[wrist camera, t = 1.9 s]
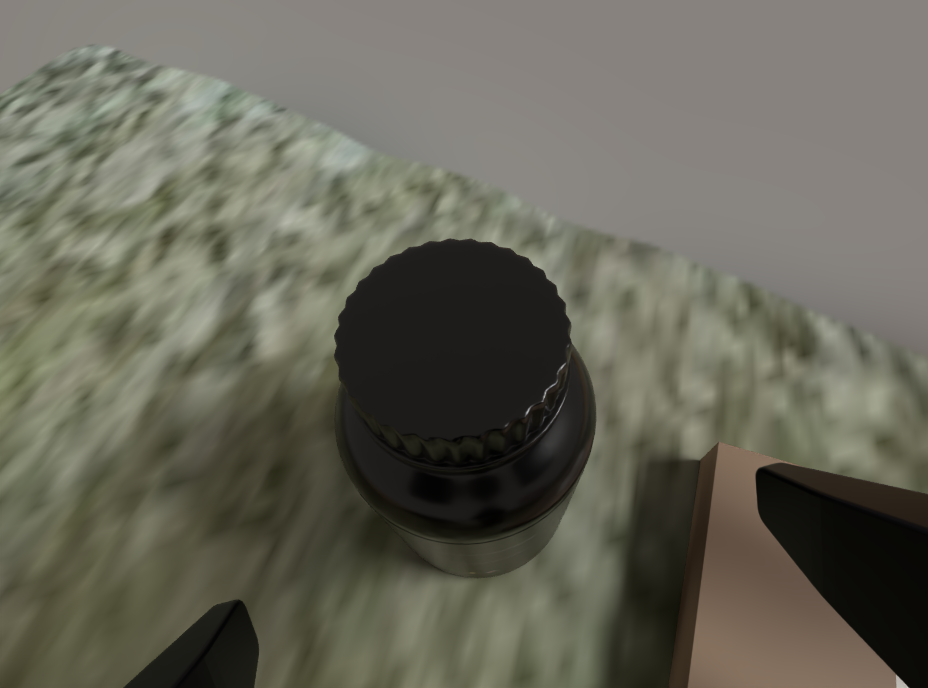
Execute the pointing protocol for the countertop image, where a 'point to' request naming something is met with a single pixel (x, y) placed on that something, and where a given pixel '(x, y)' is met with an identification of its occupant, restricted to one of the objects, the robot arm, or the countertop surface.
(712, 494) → the notched shelf board
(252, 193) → the countertop surface
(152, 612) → the countertop surface
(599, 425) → the countertop surface
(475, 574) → the supplement bottle
